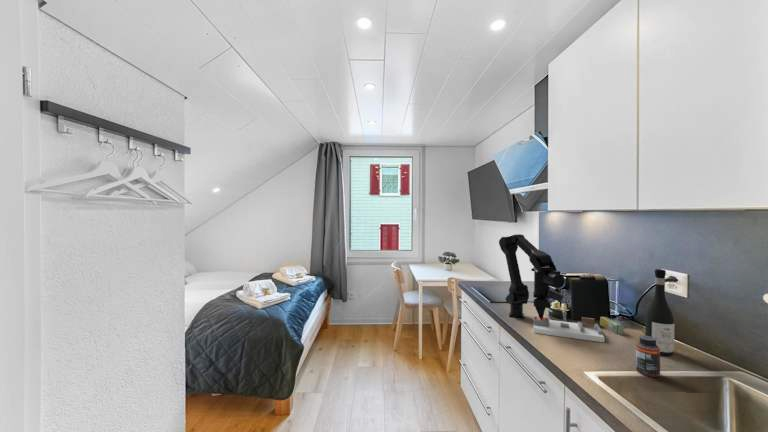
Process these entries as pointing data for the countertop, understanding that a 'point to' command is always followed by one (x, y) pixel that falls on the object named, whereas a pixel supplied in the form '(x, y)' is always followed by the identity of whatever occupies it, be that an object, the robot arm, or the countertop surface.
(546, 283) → the robot arm
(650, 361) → the supplement bottle
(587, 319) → the paddle
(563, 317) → the toggle lever
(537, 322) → the control panel
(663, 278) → the wine bottle
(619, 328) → the medication box
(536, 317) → the push button
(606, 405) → the countertop surface
